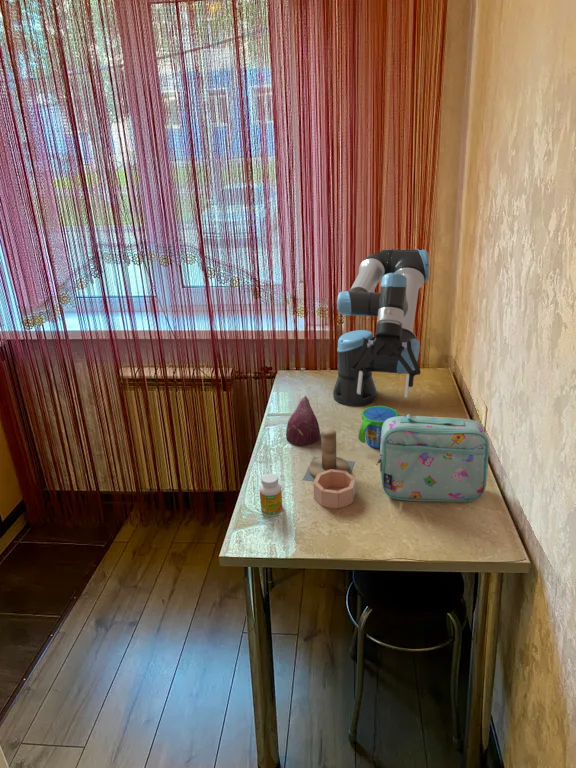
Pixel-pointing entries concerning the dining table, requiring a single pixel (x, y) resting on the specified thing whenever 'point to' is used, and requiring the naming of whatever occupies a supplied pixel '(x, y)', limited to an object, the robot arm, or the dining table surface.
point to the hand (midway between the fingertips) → (382, 395)
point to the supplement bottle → (270, 495)
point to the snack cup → (374, 424)
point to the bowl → (334, 488)
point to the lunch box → (433, 458)
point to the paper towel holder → (328, 455)
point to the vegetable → (303, 425)
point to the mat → (310, 478)
